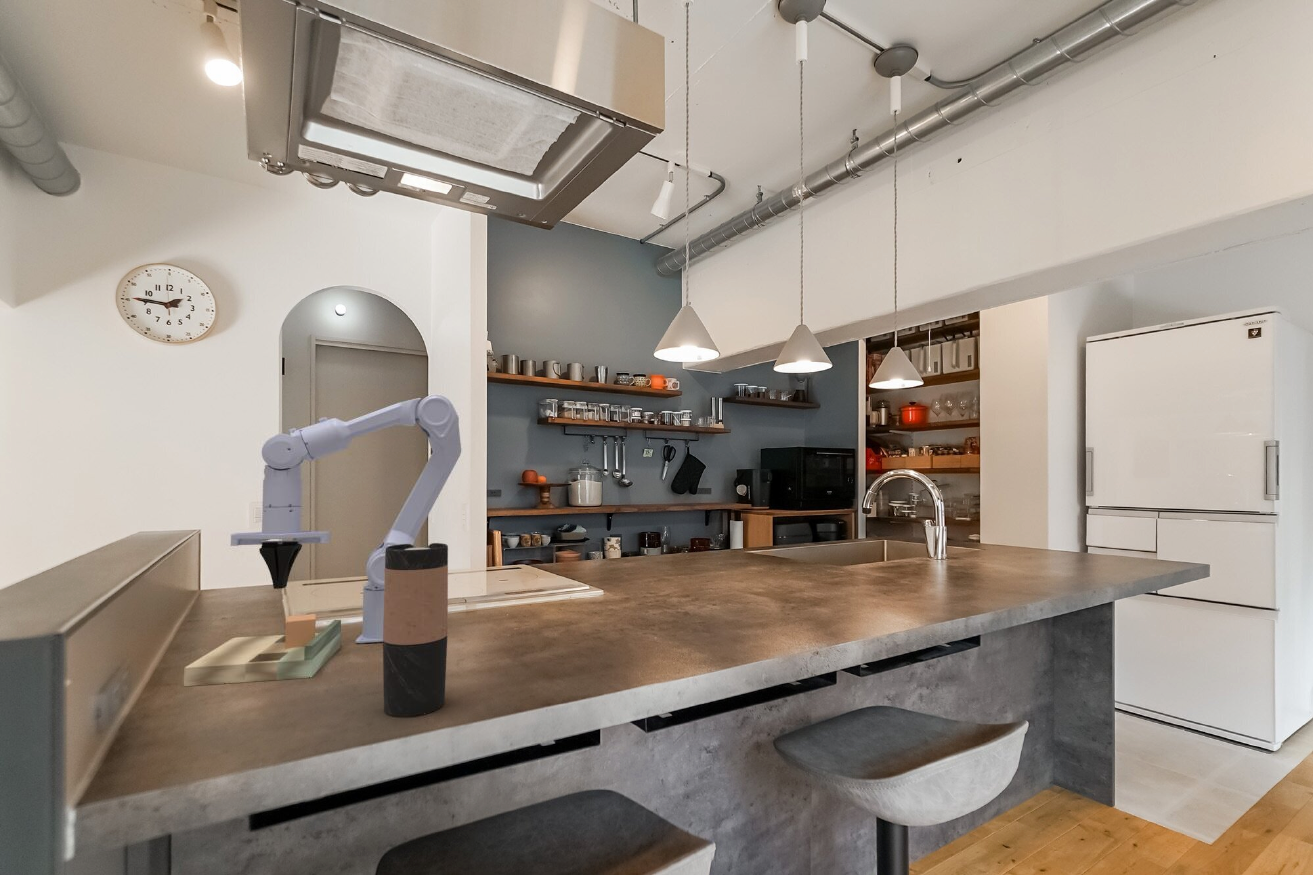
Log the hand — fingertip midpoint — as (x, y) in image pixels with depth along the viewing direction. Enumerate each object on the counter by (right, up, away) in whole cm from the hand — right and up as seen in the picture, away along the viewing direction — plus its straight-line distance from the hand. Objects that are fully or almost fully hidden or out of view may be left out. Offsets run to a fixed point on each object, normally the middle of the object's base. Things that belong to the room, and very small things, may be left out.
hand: (280, 587), depth 107 cm
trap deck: (+4, -9, -10) cm, 14 cm away
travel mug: (+33, -9, -27) cm, 43 cm away
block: (+7, -7, -7) cm, 13 cm away
